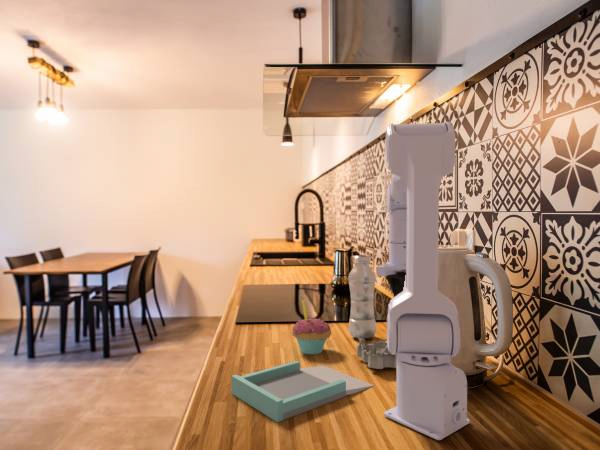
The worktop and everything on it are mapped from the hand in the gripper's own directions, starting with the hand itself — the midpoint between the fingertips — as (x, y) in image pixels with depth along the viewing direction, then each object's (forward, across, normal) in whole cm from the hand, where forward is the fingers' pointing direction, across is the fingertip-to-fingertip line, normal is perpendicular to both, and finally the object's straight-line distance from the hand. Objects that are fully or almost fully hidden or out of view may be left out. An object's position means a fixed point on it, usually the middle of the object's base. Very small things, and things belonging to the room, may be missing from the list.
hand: (402, 307), depth 90 cm
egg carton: (+11, +10, 0) cm, 15 cm away
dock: (+10, +28, 0) cm, 29 cm away
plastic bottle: (+11, -4, -15) cm, 19 cm away
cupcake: (+11, +12, -15) cm, 22 cm away
